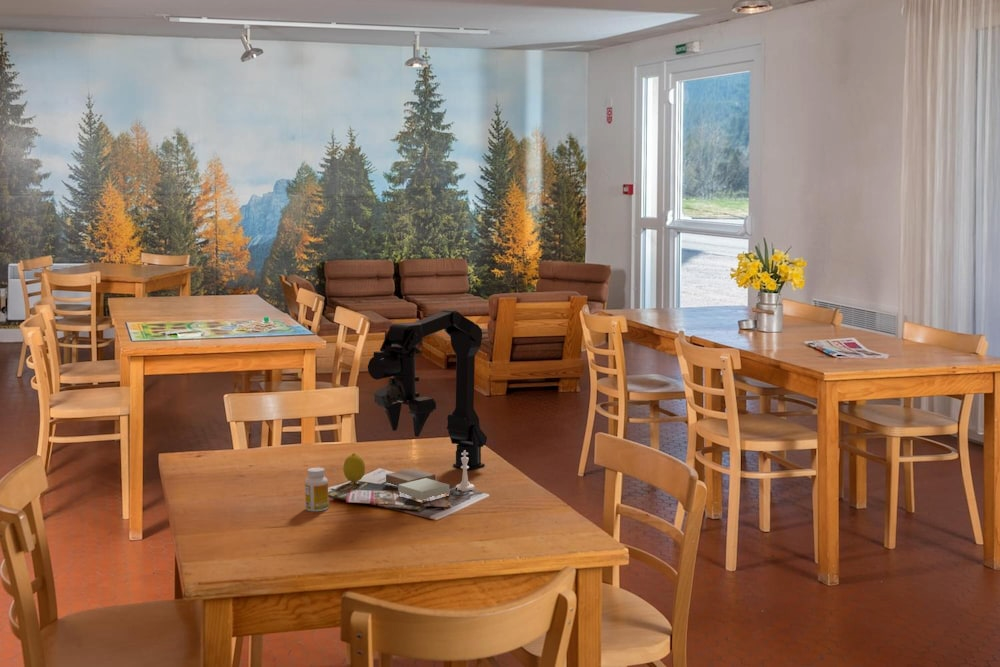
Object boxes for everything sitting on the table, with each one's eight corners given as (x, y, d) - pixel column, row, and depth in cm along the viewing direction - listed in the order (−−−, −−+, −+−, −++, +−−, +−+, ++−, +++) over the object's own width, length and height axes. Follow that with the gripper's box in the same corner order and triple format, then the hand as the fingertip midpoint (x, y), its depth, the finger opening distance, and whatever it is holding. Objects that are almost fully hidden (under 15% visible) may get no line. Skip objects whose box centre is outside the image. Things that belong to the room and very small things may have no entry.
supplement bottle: (332, 506, 267) (331, 467, 266) (322, 512, 262) (321, 472, 260) (311, 504, 268) (310, 465, 267) (302, 511, 263) (300, 471, 262)
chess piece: (452, 487, 283) (452, 449, 282) (471, 485, 285) (470, 447, 284) (459, 492, 279) (458, 453, 278) (477, 490, 281) (477, 451, 279)
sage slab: (426, 489, 281) (425, 477, 281) (449, 496, 275) (449, 484, 275) (398, 496, 275) (398, 484, 275) (421, 503, 269) (421, 491, 268)
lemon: (354, 479, 291) (354, 449, 290) (369, 483, 288) (369, 453, 287) (339, 484, 287) (338, 453, 286) (354, 487, 283) (353, 457, 282)
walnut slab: (413, 479, 291) (412, 468, 291) (435, 485, 285) (435, 474, 284) (386, 485, 285) (385, 474, 285) (408, 492, 279) (408, 480, 278)
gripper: (356, 373, 282) (358, 432, 284) (401, 382, 268) (403, 445, 270) (391, 367, 289) (393, 425, 291) (437, 376, 276) (438, 437, 278)
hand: (405, 433), depth 283 cm, fingers open, 9 cm apart
